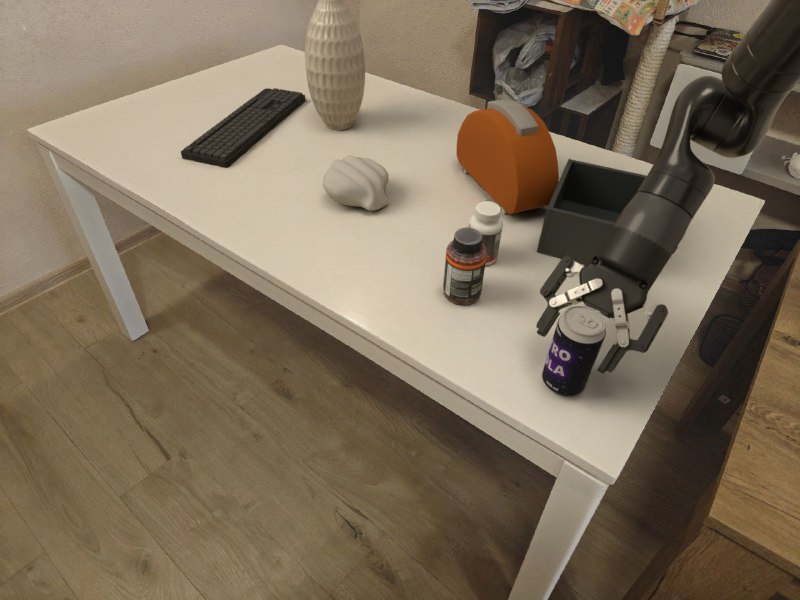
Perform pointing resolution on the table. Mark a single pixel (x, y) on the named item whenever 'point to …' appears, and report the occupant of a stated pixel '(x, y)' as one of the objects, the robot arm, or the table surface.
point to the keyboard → (243, 128)
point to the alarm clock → (509, 155)
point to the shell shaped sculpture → (357, 182)
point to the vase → (335, 64)
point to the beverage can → (574, 350)
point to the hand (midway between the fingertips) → (569, 353)
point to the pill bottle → (488, 227)
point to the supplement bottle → (464, 267)
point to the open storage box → (585, 209)
